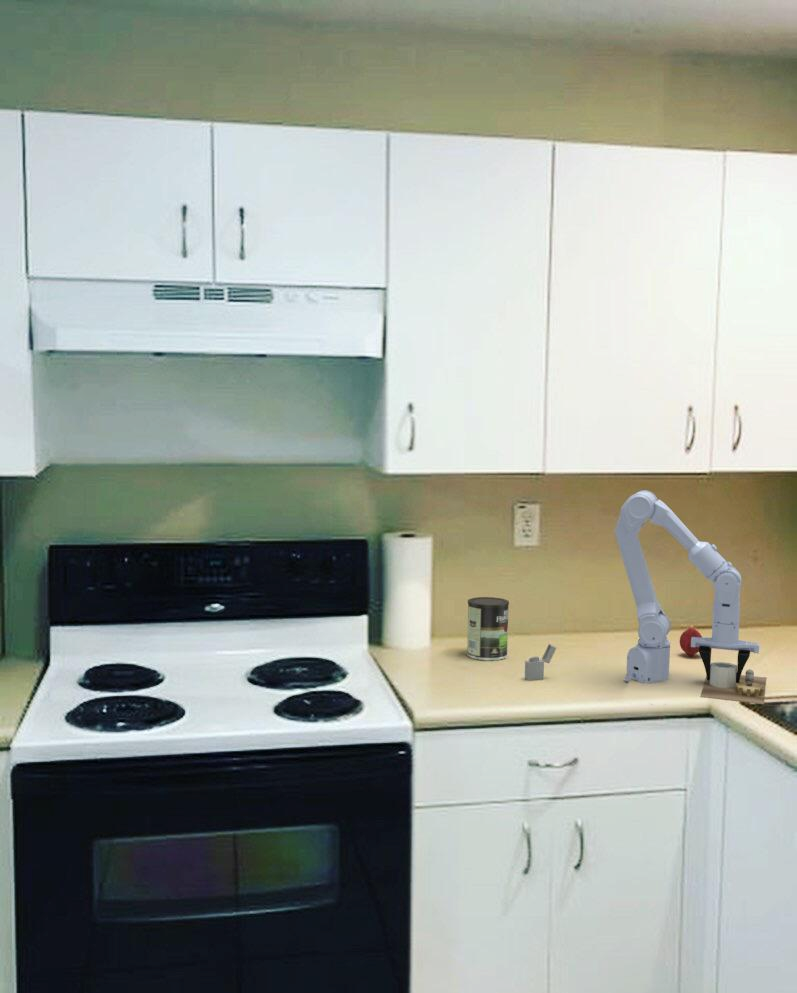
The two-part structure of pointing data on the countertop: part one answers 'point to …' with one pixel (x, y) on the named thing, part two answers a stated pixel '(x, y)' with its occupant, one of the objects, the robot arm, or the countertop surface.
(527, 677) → the lighter
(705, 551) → the robot arm
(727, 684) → the hollow cylinder
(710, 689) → the gear board
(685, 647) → the onion
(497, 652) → the coffee can
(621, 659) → the countertop surface
